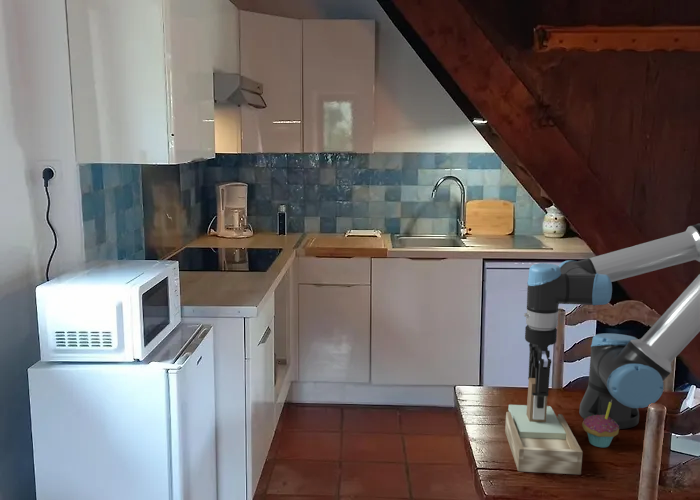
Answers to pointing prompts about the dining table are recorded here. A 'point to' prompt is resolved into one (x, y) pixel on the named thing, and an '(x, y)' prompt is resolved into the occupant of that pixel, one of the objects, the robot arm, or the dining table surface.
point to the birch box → (544, 451)
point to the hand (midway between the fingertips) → (536, 414)
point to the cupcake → (600, 428)
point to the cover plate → (536, 426)
